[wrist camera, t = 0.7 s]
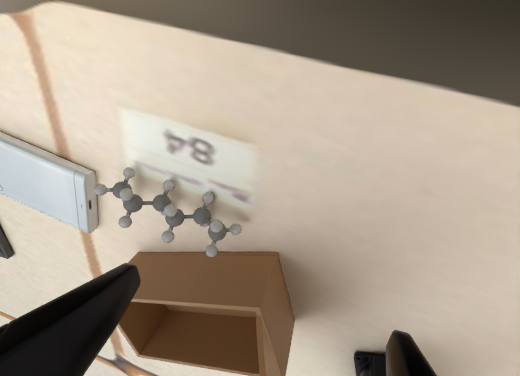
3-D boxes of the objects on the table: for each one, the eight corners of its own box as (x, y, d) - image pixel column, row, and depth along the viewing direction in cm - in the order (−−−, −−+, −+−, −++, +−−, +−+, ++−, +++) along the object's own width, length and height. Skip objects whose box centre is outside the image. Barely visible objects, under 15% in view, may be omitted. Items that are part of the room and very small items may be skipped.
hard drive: (-4, 194, 31) (87, 235, 30) (-24, 131, 27) (82, 177, 26) (11, 187, 33) (98, 227, 32) (-6, 126, 28) (95, 170, 27)
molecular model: (121, 190, 28) (82, 217, 24) (119, 155, 26) (76, 177, 21) (242, 235, 26) (223, 273, 22) (251, 202, 24) (232, 236, 20)
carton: (277, 251, 26) (260, 308, 21) (294, 320, 30) (284, 381, 25) (138, 252, 32) (96, 295, 27) (169, 309, 36) (138, 357, 31)
